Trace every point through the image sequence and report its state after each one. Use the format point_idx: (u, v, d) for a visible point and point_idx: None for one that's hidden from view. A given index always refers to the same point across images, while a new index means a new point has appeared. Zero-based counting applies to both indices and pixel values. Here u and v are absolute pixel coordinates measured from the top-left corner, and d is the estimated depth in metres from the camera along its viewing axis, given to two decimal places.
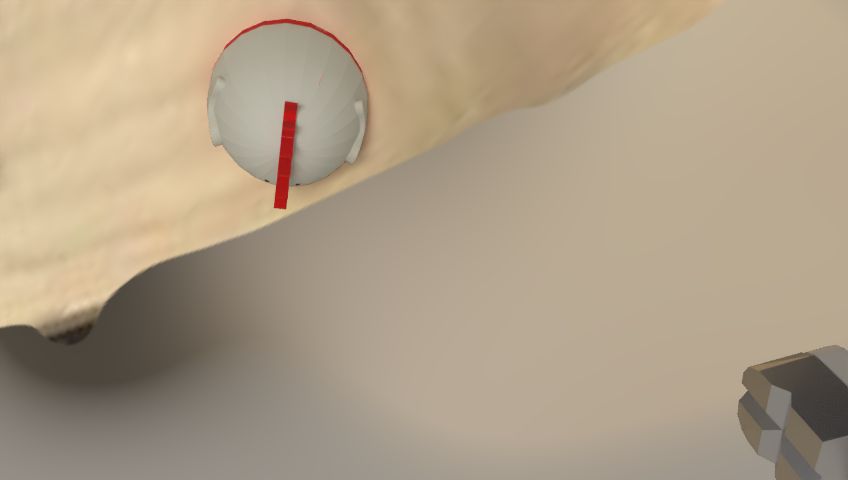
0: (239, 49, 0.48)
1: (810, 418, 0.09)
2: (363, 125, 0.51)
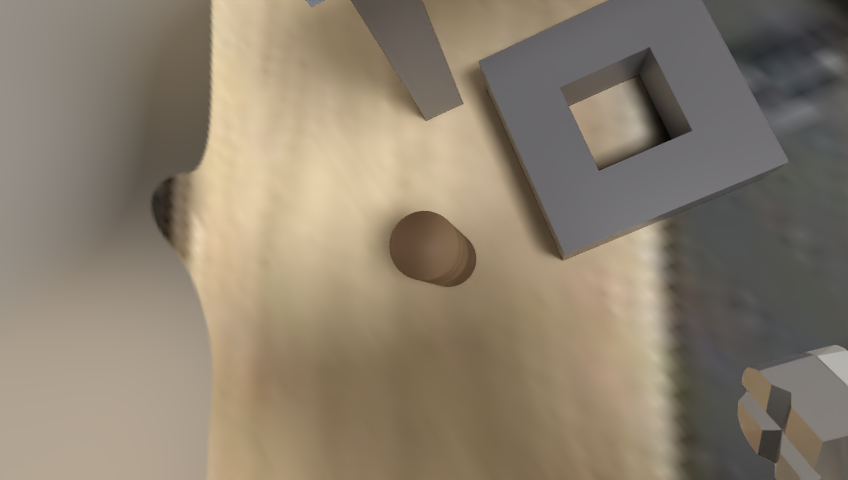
0: None
1: (810, 418, 0.09)
2: None
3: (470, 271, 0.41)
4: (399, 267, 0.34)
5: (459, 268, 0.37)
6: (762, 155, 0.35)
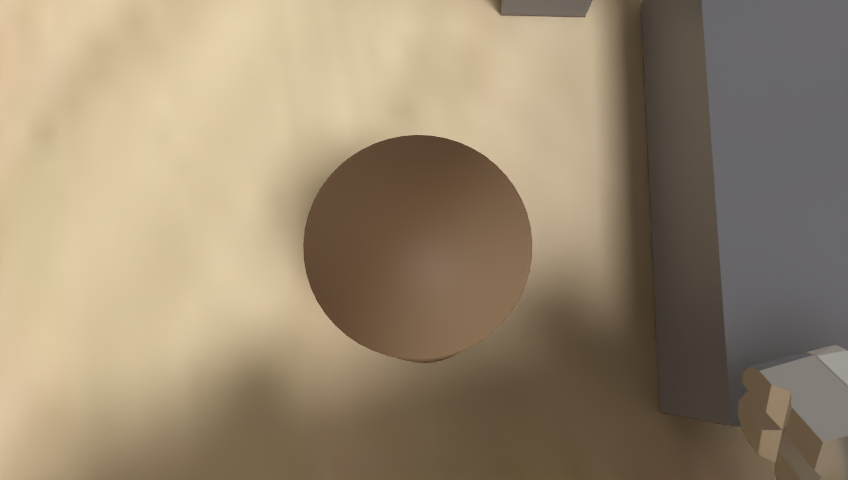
0: None
1: (810, 418, 0.09)
2: None
3: None
4: (313, 275, 0.10)
5: None
6: None
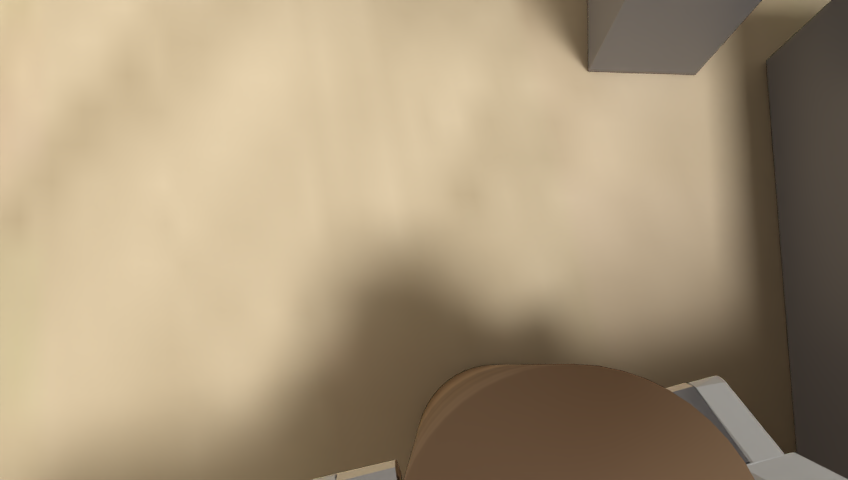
0: None
1: None
2: None
3: None
4: None
5: None
6: None
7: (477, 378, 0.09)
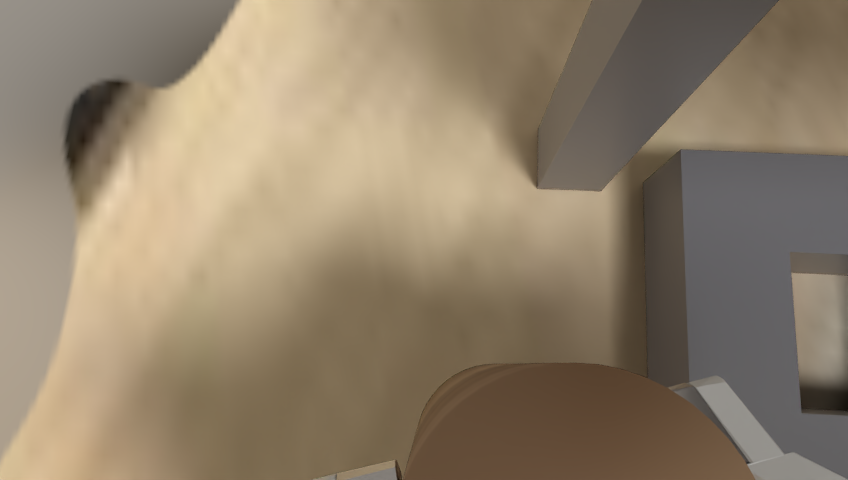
0: None
1: None
2: None
3: None
4: None
5: None
6: None
7: (476, 377, 0.09)
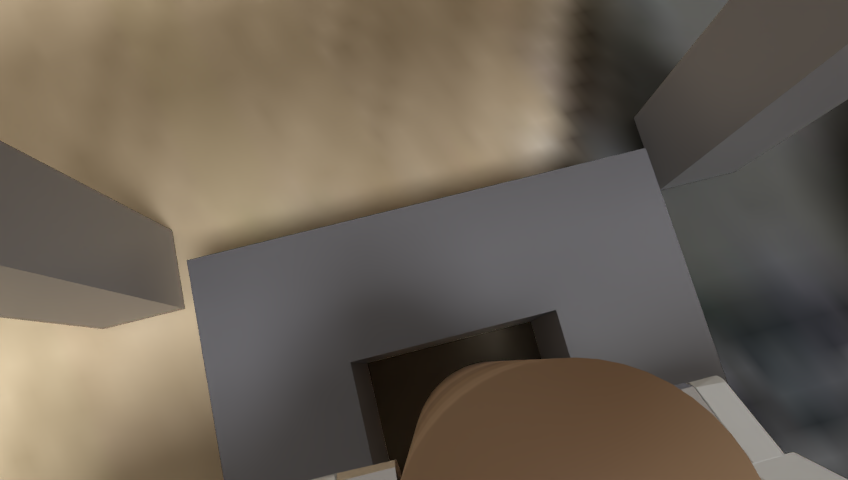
0: None
1: None
2: None
3: None
4: None
5: None
6: None
7: (476, 373, 0.09)
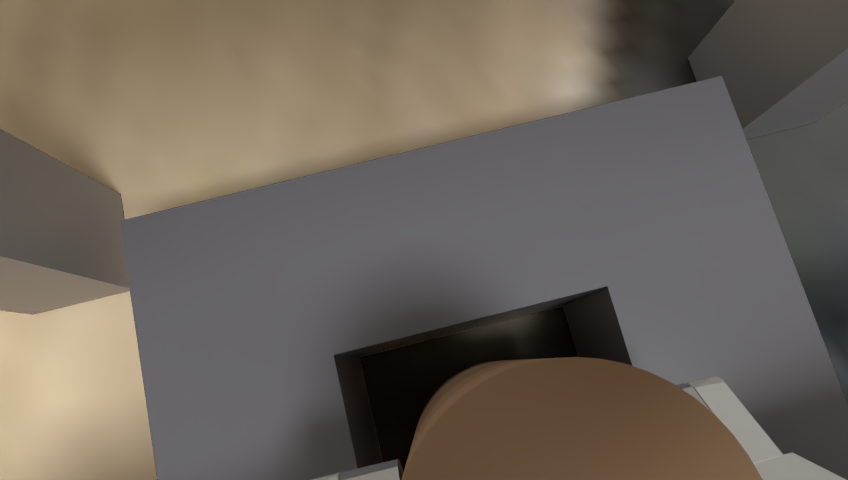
0: None
1: None
2: None
3: None
4: None
5: None
6: None
7: (477, 373, 0.09)
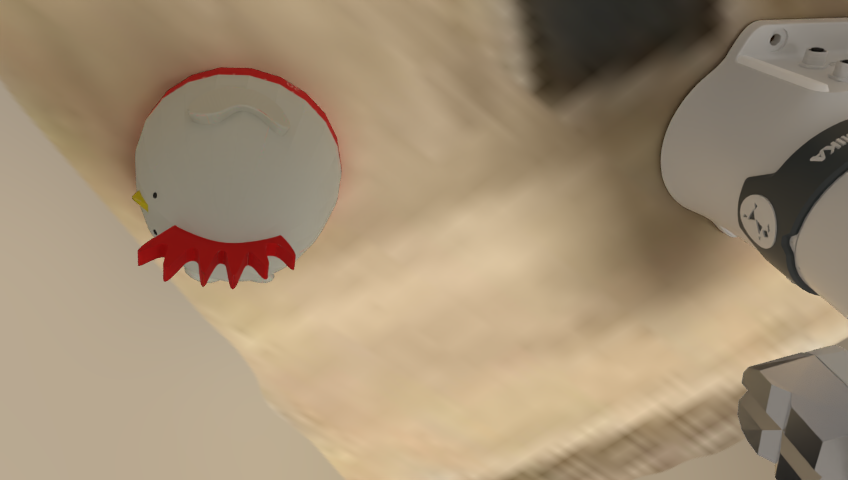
0: (317, 137, 0.39)
1: (810, 418, 0.09)
2: None
3: None
4: None
5: None
6: None
7: None
